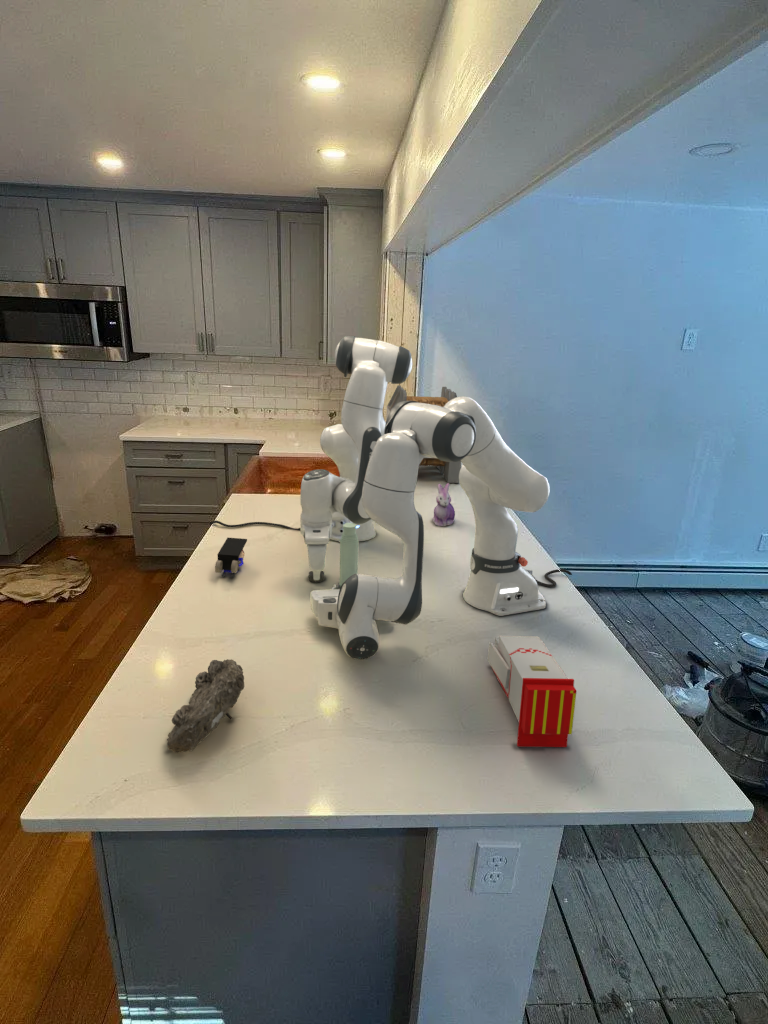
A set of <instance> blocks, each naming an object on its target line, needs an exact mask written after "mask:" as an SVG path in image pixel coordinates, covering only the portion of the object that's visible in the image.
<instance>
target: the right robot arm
mask: <svg viewBox="0 0 768 1024" xmlns="http://www.w3.org/2000/svg"><path fill="white" fill-rule="evenodd" d="M385 422H386V424H385V429H384V435H382V436H381V437H380V438H379V439H378V440H377V442H376V444H375V446H374V449H373V451H372V454H371V457H370V460H369V463H368V467H367V470H366V474H365V479H364V484H363V490H362V505H363V508H364V510H365V512H366V514H367V515H368V516H369V517H370V518H371V519H372V520H373V522H374V524H375V523H376V524H377V525H378V526H380V527H381V528H383V529H385V530H387V531H389V532H390V533H392V534H393V535H395V536H397V537H398V538H399V539H400V540H401V541H402V544H403V548H402V552H403V554H402V571H401V572H402V573H401V576H400V577H397V578H393V577H386V576H378V575H373V574H365V573H364V574H363V573H358V574H356V573H355V574H353V575H351V576H350V577H349V578H348V579H347V580H346V581H345V582H344V583H343V584H342V585H341V588H340V585H339V583H333V587H331V588H330V589H313V590H311V591H310V594H309V595H310V596H309V597H310V599H309V601H310V608H311V612H312V613H313V615H314V617H315V618H316V619H317V624H318V626H321V627H326V628H333V629H337V630H338V635H339V640H340V644H341V647H342V649H343V651H344V652H345V653H346V655H347V656H348V657H350V658H351V659H354V660H367V659H371V658H372V657H373V656H375V655H376V654H377V652H378V651H379V649H380V635H379V630H378V625H377V621H384V622H385V621H386V622H391V623H395V624H398V625H399V624H400V625H405V626H406V625H408V624H411V623H412V622H413V621H415V620H416V619H417V618H418V617H419V616H420V615H421V612H422V608H423V565H424V564H423V563H424V547H425V546H424V545H425V543H424V542H425V541H424V540H425V525H424V519H423V515H422V514H421V513H420V512H418V511H417V509H416V506H415V493H416V487H417V483H418V475H419V467H420V466H419V464H420V463H421V461H422V460H423V458H424V456H422V455H425V456H428V457H432V458H437V459H439V460H441V461H446V462H458V461H461V469H460V472H459V483H458V484H459V486H460V488H461V489H462V490H463V491H464V493H465V494H466V496H467V497H468V500H469V502H470V505H471V509H472V511H473V516H474V524H475V525H474V526H475V529H474V543H473V548H472V549H471V555H470V561H469V566H470V568H469V569H470V572H469V575H468V581H467V583H466V586H465V589H464V591H463V594H462V598H463V600H464V601H465V602H466V603H467V604H468V605H470V606H472V607H474V608H476V609H479V610H481V611H485V612H488V613H491V614H494V615H495V616H498V617H502V616H503V617H504V616H509V615H514V614H519V613H520V614H521V613H526V612H532V611H539V610H544V609H546V608H547V607H546V606H547V601H546V599H545V596H543V594H542V592H541V591H539V586H541V587H547V588H553V587H556V586H557V581H555V580H554V579H552V578H551V577H549V576H550V575H552V574H557V573H565V574H567V575H569V576H572V575H573V574H572V572H571V571H570V570H569V569H568V570H567V569H564V568H558V569H559V570H560V571H561V572H560V571H559V570H558V569H553V570H549V571H547V572H546V573H544V578H545V580H547V581H548V582H550V583H545V582H541V581H540V580H538V579H537V578H536V577H535V576H534V575H533V570H532V569H531V570H530V569H526V568H524V567H526V566H527V565H528V563H529V561H528V560H527V559H526V557H524V556H521V554H520V553H518V552H517V543H518V538H519V537H518V536H519V528H518V525H517V523H516V521H515V520H514V518H513V517H512V516H511V514H510V513H509V511H508V509H509V510H512V511H514V512H515V511H516V512H523V513H533V514H534V513H537V512H538V511H540V510H541V509H542V508H544V506H545V505H546V504H547V502H548V500H549V498H550V492H551V488H550V483H549V480H548V478H547V477H546V476H544V475H543V474H541V473H540V472H538V471H537V470H535V468H534V469H533V468H532V467H531V466H530V465H528V464H527V463H526V462H525V461H524V460H523V459H522V458H520V456H518V455H517V454H516V452H514V451H513V449H511V448H510V446H508V445H507V444H506V442H505V441H504V440H503V438H502V436H501V434H500V432H499V431H498V430H497V428H496V426H495V424H494V422H493V421H492V419H491V417H490V416H489V415H488V414H487V412H486V411H485V410H484V409H483V408H482V406H481V405H480V404H479V403H478V402H477V401H476V400H475V399H473V398H472V397H469V396H465V395H463V396H457V397H456V398H454V399H452V400H450V401H449V402H447V403H446V404H445V406H444V407H441V406H438V405H431V404H426V403H419V402H417V401H403V402H399V403H397V404H396V405H395V406H394V407H393V408H392V410H391V411H390V413H389V415H388V417H387V420H386V419H385ZM376 620H377V621H376Z"/></svg>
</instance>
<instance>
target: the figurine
mask: <svg viewBox="0 0 768 1024" xmlns="http://www.w3.org/2000/svg"><path fill="white" fill-rule="evenodd" d="M437 493H438V494H437V496H436V498H435V501H436V503H437V504H436V506H435V507H434V508H433V518H432V523H434V525H435V526H440V527H445V526H450V525H452V524H453V523H454V521H455V517H456V511H455V508H454V506H453V504H452V503H451V502H452V498H451V494H450V483H448V482H447V483H446V484H445V485H444V487H443V485H442V484H441V483H438V484H437Z"/></svg>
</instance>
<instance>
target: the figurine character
mask: <svg viewBox="0 0 768 1024" xmlns="http://www.w3.org/2000/svg"><path fill="white" fill-rule="evenodd" d="M247 542H248V538H240V537H226V539H225V541H224V543H223V544H222V546H221V547H220V549H219V551H218V552H217V560H216V562H215V564H214V572H215V573H221V577H222V578H224V577H225V576H226V574H227V573H230V574H231V573H232V574H231V578H234V577H235V575H236V573H237V572H239V571H240V567H242V566H243V565H244V564H245V562H244V558H245V551H244V547H245V546H246V544H247Z"/></svg>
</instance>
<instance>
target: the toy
mask: <svg viewBox="0 0 768 1024" xmlns="http://www.w3.org/2000/svg"><path fill="white" fill-rule="evenodd" d="M488 643H489V644H488V651H487V658H486V659H487V662H488V664H489V666H490V668H491V669H492V672H493V674H494V675H495V677H496V679H497V681H498V682H499V684H500V687H501V688H502V691H503V692H504V694H505V697H507V699H508V702H509V705H510V706H511V709H512V710H513V713H514V714H515V717H516V720H517V721H518V728H517V729H518V730H517V741H516V746H517V747H520V748H521V747H522V748H523V747H525V748H527V747H529V748H531V747H532V748H533V747H534V748H545V747H546V748H567V747H568V740H569V735H572V733H573V725H574V716H575V708H576V700H577V689H576V687H575V686H574V685H575V679H574V678H569V677H568V676H567V675H566V673H565V672H564V670H563V669H562V668H561V667H560V665H559V663H558V662H557V661H556V659H555V658H554V656H553V654H552V653H551V652H550V650H549V649H548V648H547V646H546V644H545V642H544V641H543V640H542V639H541V638H540V636H534V635H533V636H532V635H530V636H527V635H526V636H525V635H524V636H523V635H498V637H497V636H496V637H494V643H493V641H489V642H488Z"/></svg>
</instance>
